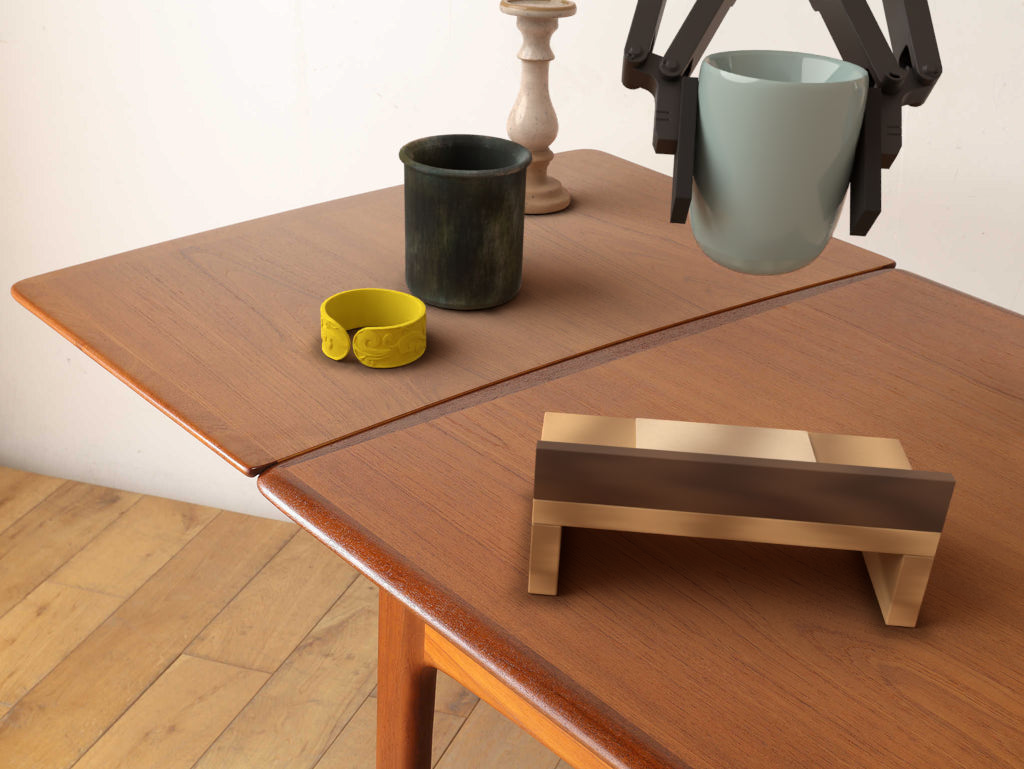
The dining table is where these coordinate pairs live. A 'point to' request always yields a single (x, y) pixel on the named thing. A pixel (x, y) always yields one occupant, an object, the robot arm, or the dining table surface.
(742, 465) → the shelf
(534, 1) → the candle holder
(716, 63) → the cup
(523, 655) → the dining table surface
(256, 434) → the dining table surface
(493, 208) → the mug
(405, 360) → the bracelet
